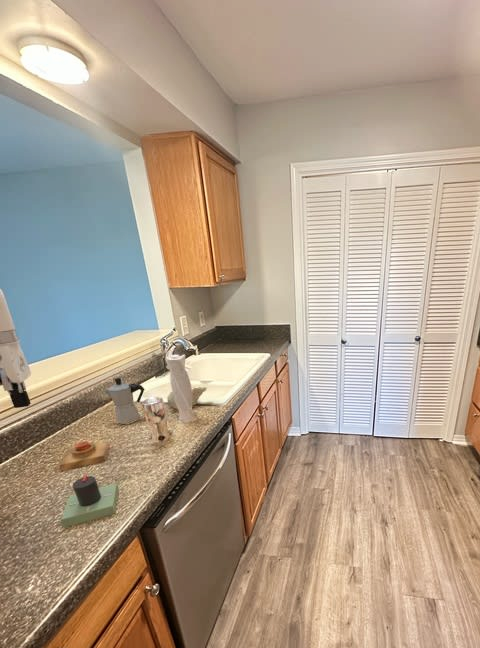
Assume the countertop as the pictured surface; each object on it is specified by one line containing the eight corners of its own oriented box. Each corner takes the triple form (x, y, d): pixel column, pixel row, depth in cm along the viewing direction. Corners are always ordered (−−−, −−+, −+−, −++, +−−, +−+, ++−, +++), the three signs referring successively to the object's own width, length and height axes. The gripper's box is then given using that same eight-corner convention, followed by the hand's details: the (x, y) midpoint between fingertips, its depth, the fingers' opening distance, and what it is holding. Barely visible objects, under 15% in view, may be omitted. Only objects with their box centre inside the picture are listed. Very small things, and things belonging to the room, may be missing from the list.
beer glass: (169, 443, 112) (160, 403, 107) (148, 445, 111) (138, 405, 106) (173, 433, 119) (165, 395, 113) (153, 435, 118) (144, 398, 112)
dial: (99, 503, 80) (92, 483, 78) (77, 508, 79) (69, 489, 77) (102, 491, 85) (96, 473, 82) (81, 496, 83) (74, 478, 81)
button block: (61, 471, 99) (57, 460, 98) (68, 455, 108) (64, 445, 106) (105, 461, 103) (102, 450, 102) (109, 446, 112) (106, 436, 110)
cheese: (163, 416, 138) (178, 400, 129) (159, 401, 140) (174, 384, 131) (195, 415, 150) (211, 399, 141) (191, 401, 152) (206, 385, 143)
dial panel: (63, 528, 76) (59, 519, 75) (72, 502, 85) (69, 494, 84) (115, 513, 80) (112, 505, 79) (119, 490, 89) (116, 482, 88)
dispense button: (75, 452, 102) (74, 447, 101) (78, 447, 105) (76, 442, 104) (88, 450, 103) (87, 445, 102) (90, 444, 106) (89, 440, 106)
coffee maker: (108, 427, 126) (95, 383, 120) (115, 417, 134) (103, 376, 128) (149, 421, 129) (138, 379, 123) (153, 413, 137) (143, 372, 130)
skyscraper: (174, 419, 130) (159, 351, 119) (192, 413, 135) (179, 347, 124) (182, 425, 125) (168, 354, 114) (200, 419, 129) (188, 350, 118)
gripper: (5, 341, 76) (31, 413, 82) (26, 332, 89) (47, 395, 95) (-36, 345, 73) (-7, 419, 80) (-8, 335, 86) (15, 399, 92)
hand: (22, 406), depth 87 cm, fingers closed
